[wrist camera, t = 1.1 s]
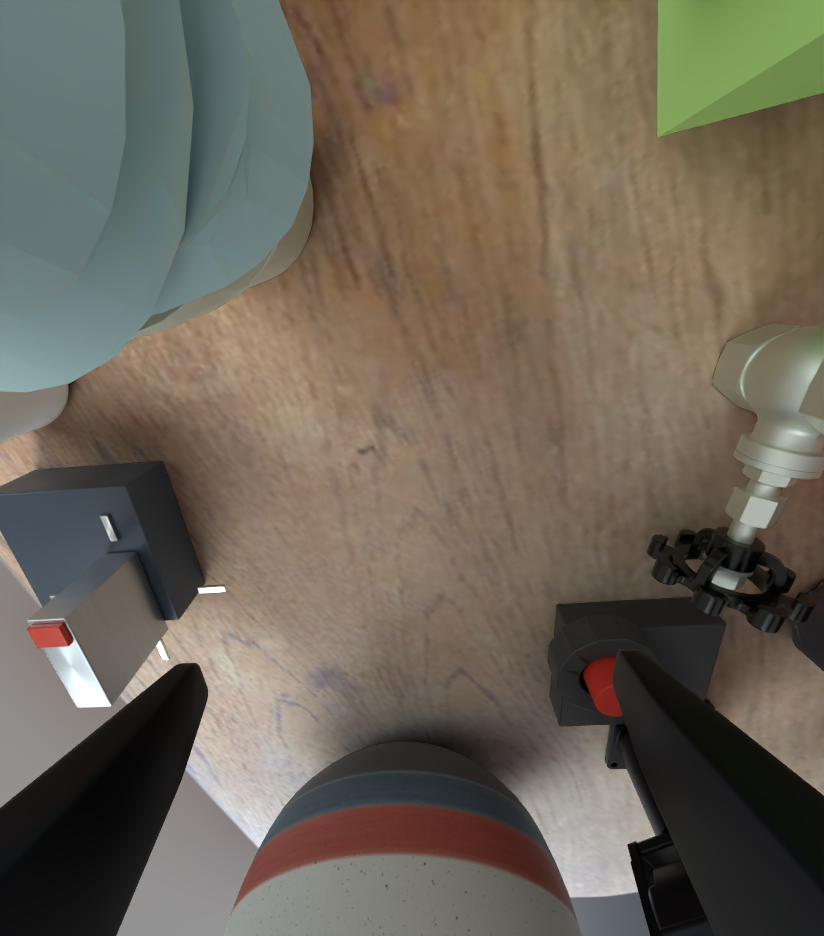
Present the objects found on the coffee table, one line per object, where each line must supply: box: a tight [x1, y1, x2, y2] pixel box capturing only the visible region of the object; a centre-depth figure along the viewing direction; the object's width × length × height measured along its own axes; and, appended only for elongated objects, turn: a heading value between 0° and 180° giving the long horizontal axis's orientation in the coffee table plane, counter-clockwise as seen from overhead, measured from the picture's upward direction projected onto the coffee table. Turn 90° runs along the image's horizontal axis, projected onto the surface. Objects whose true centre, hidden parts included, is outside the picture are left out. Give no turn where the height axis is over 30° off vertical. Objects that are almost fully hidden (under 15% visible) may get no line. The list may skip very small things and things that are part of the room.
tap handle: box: [27, 552, 168, 708], centre depth 19 cm, size 5×2×5 cm, turn 5°
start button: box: [583, 656, 623, 717], centre depth 21 cm, size 2×2×2 cm
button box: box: [548, 597, 726, 726], centre depth 24 cm, size 9×10×4 cm
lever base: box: [0, 461, 227, 660], centre depth 22 cm, size 11×10×3 cm
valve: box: [647, 323, 824, 633], centre depth 18 cm, size 7×7×12 cm
